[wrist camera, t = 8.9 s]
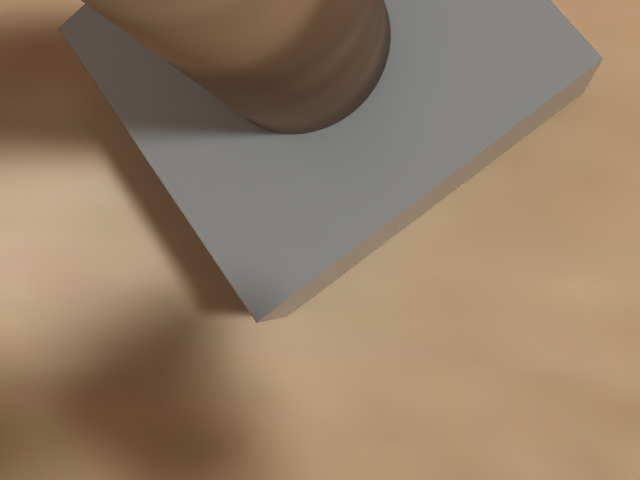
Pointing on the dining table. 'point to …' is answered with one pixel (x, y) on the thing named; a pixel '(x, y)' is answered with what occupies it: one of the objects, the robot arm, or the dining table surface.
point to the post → (268, 53)
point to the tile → (341, 137)
